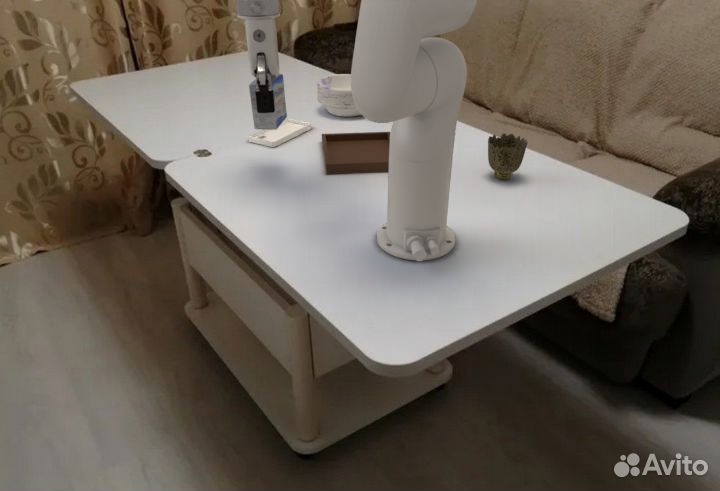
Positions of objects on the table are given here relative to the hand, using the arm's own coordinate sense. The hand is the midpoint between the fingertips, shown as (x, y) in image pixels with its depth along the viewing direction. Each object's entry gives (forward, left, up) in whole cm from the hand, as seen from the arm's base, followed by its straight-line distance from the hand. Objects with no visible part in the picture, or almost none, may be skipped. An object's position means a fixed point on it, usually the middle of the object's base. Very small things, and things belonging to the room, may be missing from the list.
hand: (267, 104), depth 112 cm
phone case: (+22, -2, -14) cm, 27 cm away
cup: (-7, -46, -14) cm, 48 cm away
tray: (+7, -19, -14) cm, 25 cm away
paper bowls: (+38, -19, -14) cm, 45 cm away
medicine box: (0, 0, -4) cm, 4 cm away
